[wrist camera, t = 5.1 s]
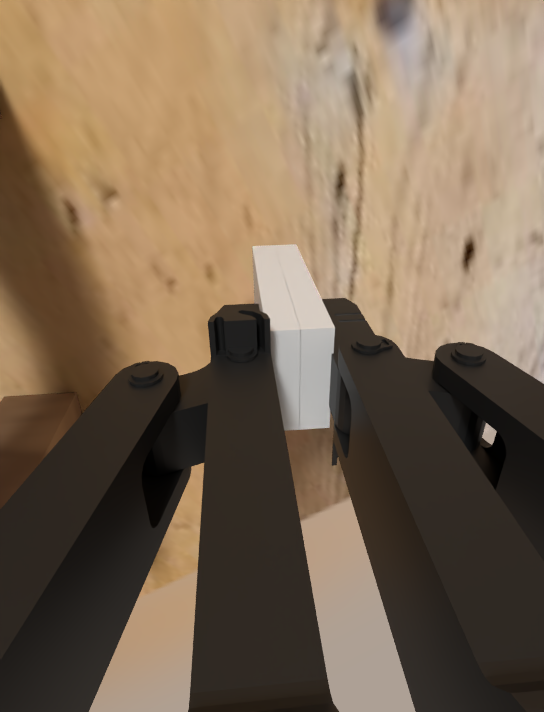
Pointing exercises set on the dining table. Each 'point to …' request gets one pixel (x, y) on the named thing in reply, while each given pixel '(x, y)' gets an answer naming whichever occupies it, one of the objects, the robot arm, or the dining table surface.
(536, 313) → the dining table surface
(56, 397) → the bridge
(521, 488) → the robot arm
